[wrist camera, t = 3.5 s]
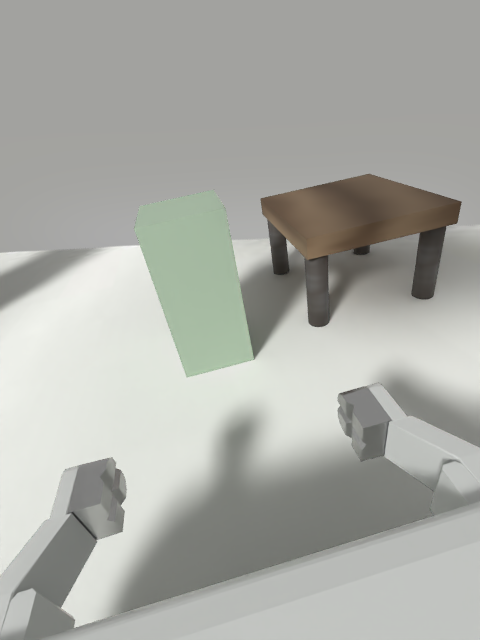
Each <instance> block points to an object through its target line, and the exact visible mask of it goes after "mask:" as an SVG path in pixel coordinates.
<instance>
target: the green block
mask: <svg viewBox="0 0 480 640" xmlns="http://www.w3.org/2000/svg"><path fill="white" fill-rule="evenodd" d="M134 230H135V233H136V235H137V238H138V241H139V244H140V247H141V250H142V252H143V255H144V258H145V261H146V264H147V266H148V269H149V272H150V275H151V278H152V281H153V283H154V286H155V289H156V292H157V295H158V297H159V300H160V303H161V306H162V309H163V312H164V314H165V317H166V320H167V323H168V326H169V328H170V331H171V334H172V337H173V340H174V343H175V345H176V348H177V351H178V354H179V357H180V359H181V362H182V365H183V368H184V371H185V374H186V376H187V377H190V376H194V375H198V374H202V373H205V372H209V371H213V370H217V369H221V368H224V367H228V366H232V365H236V364H239V363H243V362H247V361H251V360H254V357H253V351H252V346H251V341H250V336H249V330H248V325H247V320H246V315H245V309H244V304H243V299H242V293H241V288H240V283H239V278H238V272H237V267H236V262H235V257H234V251H233V246H232V241H231V235H230V230H229V225H228V220H227V214H226V209H225V207H224V205H223V204H222V202H221V201H220V199H219V198H218V196H217V195H216V193H215V192H214V190H211V191H206V192H202V193H197V194H193V195H188V196H184V197H179V198H175V199H170V200H166V201H161V202H157V203H153V204H148V205H143V206H140V207H139V210H138V215H137V219H136V223H135V227H134Z"/></svg>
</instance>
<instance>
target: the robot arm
mask: <svg viewBox="0 0 480 640" xmlns="http://www.w3.org/2000/svg"><path fill="white" fill-rule="evenodd" d="M338 402H339V404H340V407H339V408H338V418H339V422H340V425H341V427H342V429H343V431H344V433H345V435H347V436H349V437H350V438H352V447H353V449H354V450H355V452H356V454H357V456H358V457H359V459H360V461H361V462H362V461H365V460H369V459H373V458H377V457H380V456H384V457H385V458H387V459H388V460H390V461H391V462H392V463H394V464H395V465H397V466H398V467H400V468H401V469H403V470H404V471H405V472H407V473H408V474H410V475H411V476H413V477H414V478H415V479H417V480H418V481H420V482H421V483H423V484H424V485H425V486H427V487H428V488H430V489H431V490H433V491H434V492H435V493H434V496H433V500H432V503H431V506H430V511H431V513H432V514H433V516H431V517H428V518H425V519H422V520H418V521H415V522H412V523H409V524H406V525H402V526H399V527H396V528H393V529H390V530H386V531H383V532H380V533H377V534H374V535H370V536H367V537H364V538H361V539H358V540H354V541H351V542H348V543H345V544H341V545H338V546H335V547H332V548H329V549H325V550H322V551H319V552H316V553H313V554H309V555H306V556H303V557H300V558H297V559H293V560H290V561H287V562H284V563H281V564H277V565H274V566H271V567H268V568H265V569H261V570H258V571H255V572H252V573H249V574H245V575H242V576H239V577H236V578H232V579H229V580H226V581H223V582H220V583H216V584H213V585H210V586H207V587H204V588H200V589H197V590H194V591H191V592H188V593H184V594H181V595H178V596H175V597H172V598H168V599H165V600H162V601H159V602H156V603H152V604H149V605H146V606H143V607H140V608H136V609H133V610H130V611H127V612H124V613H120V614H117V615H114V616H111V617H108V618H104V619H101V620H98V621H95V622H92V623H88V624H85V625H82V626H79V627H76V628H74V624H75V619H74V618H73V616H71V615H70V614H69V613H67V612H66V611H64V610H63V609H61V607H62V605H63V603H64V601H65V600H66V598H67V596H68V594H69V592H70V590H71V589H72V587H73V585H74V583H75V581H76V579H77V578H78V576H79V574H80V572H81V570H82V569H83V567H84V565H85V563H86V561H87V559H88V558H89V556H90V554H91V552H92V550H93V549H94V547H95V545H96V543H97V541H96V540H99V539H102V538H105V537H108V536H111V535H114V534H117V533H120V532H123V523H124V513H125V511H124V509H123V508H122V507H121V505H122V503H123V502H124V500H125V498H126V490H127V489H126V480H125V477H124V474H123V473H122V471H121V470H119V469H116V462H115V460H114V459H113V458H112V457H111V458H107V459H103V460H99V461H95V462H91V463H87V464H83V465H79V466H75V467H71V468H68V469H65V471H64V472H63V474H62V476H61V480H60V483H59V487H58V490H57V494H56V497H55V501H54V504H53V508H52V512H51V515H50V519H49V520H45V521H44V522H43V523H42V525H41V526H40V527H39V528H38V530H37V531H36V532H35V534H34V535H33V536H32V537H31V539H30V540H29V541H28V542H27V544H26V545H25V546H24V547H23V549H22V550H21V551H20V552H19V554H18V555H17V556H16V557H15V559H14V560H13V561H12V562H11V564H10V565H9V566H8V567H7V569H6V570H5V571H4V572H3V574H2V575H1V576H0V640H480V447H477V446H475V445H473V444H471V443H469V442H467V441H465V440H463V439H461V438H458V437H456V436H454V435H452V434H450V433H448V432H446V431H444V430H442V429H439V428H437V427H435V426H433V425H431V424H429V423H427V422H425V421H422V420H420V419H418V418H416V417H414V416H407V415H406V414H405V412H404V411H403V410H402V409H401V408H400V406H399V405H398V404H397V403H396V401H395V400H394V399H393V398H392V397H391V395H390V394H389V393H388V392H387V390H386V389H385V388H384V387H383V385H382V384H380V383H375V384H372V385H368V386H365V387H364V386H363V387H360V388H357V389H353V390H350V391H346V392H343V393H340V394H339V395H338Z"/></svg>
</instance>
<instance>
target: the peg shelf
mask: <svg viewBox="0 0 480 640" xmlns="http://www.w3.org/2000/svg"><path fill="white" fill-rule="evenodd" d="M261 205H262V213H263V215H264V216H265V217H266V218H267V220H268V228H269V237H270V245H271V253H272V262H273V270H274V273H275V274H278V275H281V274H286V273H287V272H288V271H289V265H288V254H287V244H286V239H287V240H288V241H289V242H290V243H291V244H292V245H293V246H294V247H295V248H296V249H297V250H298V251H299V252H300V253H301V254H302V255H303V256H304V257H305V271H306V288H307V304H308V320H309V324H310V325H312V326H315V327H321V326H325V325H327V324H328V323H329V294H328V255H330V254H334V253H338V252H342V251H346V250H350V249H354V253H355V254H367V253H369V249H370V245H371V244H375V243H379V242H383V241H387V240H391V239H395V238H399V237H404V236H408V235H412V234H416V233H420V237H419V244H418V251H417V258H416V265H415V272H414V279H413V286H412V293H411V294H412V296H414V297H416V298H419V299H429V298H431V297H433V295H434V290H435V284H436V279H437V274H438V268H439V263H440V258H441V252H442V247H443V241H444V236H445V231H446V226H449V225H453V224H456V223H457V222H458V216H459V212H460V206H461V201H457V200H454V199H451V198H447V197H444V196H441V195H438V194H434V193H431V192H427V191H424V190H421V189H418V188H414V187H411V186H408V185H404V184H401V183H397V182H394V181H391V180H388V179H384V178H381V177H378V176H374V175H371V174H366V175H362V176H358V177H353V178H349V179H345V180H340V181H335V182H332V183H327V184H322V185H318V186H314V187H309V188H305V189H300V190H296V191H291V192H287V193H283V194H278V195H274V196H269V197H265V198H261Z"/></svg>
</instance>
